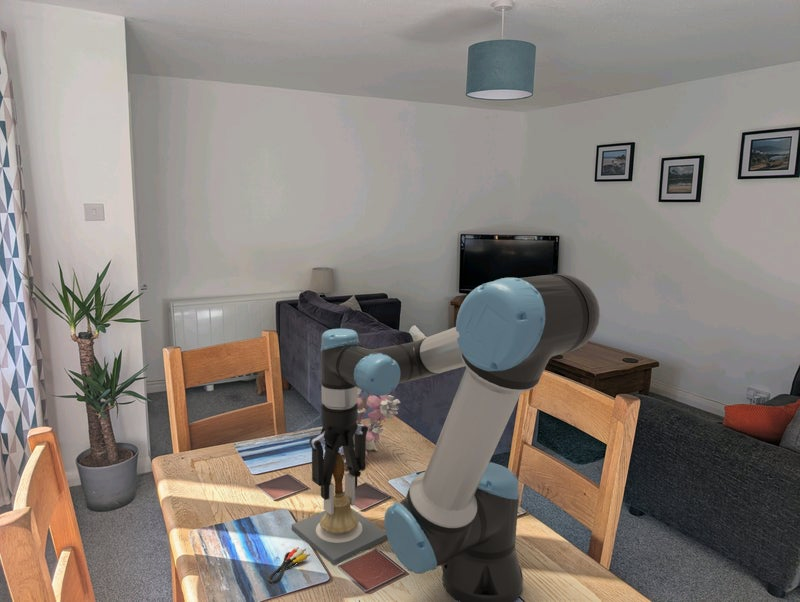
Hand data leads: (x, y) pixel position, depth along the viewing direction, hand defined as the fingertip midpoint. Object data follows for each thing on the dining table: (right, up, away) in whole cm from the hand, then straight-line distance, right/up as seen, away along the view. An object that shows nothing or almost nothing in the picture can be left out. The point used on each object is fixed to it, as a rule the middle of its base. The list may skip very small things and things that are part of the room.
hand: (339, 506), depth 121 cm
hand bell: (0, -4, +1) cm, 4 cm away
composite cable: (-10, -9, -10) cm, 16 cm away
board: (0, -6, +1) cm, 6 cm away
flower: (+2, 0, +37) cm, 37 cm away
